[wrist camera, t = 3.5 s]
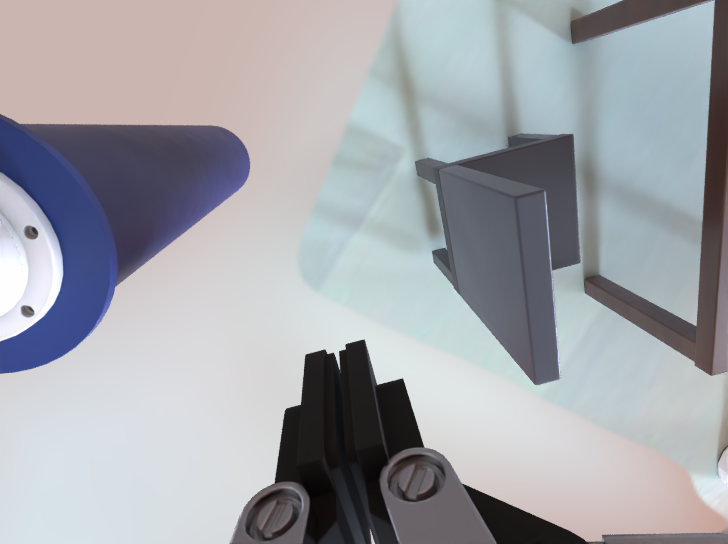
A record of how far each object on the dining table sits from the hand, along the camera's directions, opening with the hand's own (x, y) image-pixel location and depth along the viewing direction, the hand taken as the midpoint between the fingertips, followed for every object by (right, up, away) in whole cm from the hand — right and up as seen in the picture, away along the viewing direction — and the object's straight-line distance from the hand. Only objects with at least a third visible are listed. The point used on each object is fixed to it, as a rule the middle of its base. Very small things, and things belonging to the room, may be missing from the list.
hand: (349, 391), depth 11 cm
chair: (+8, +8, +15) cm, 19 cm away
